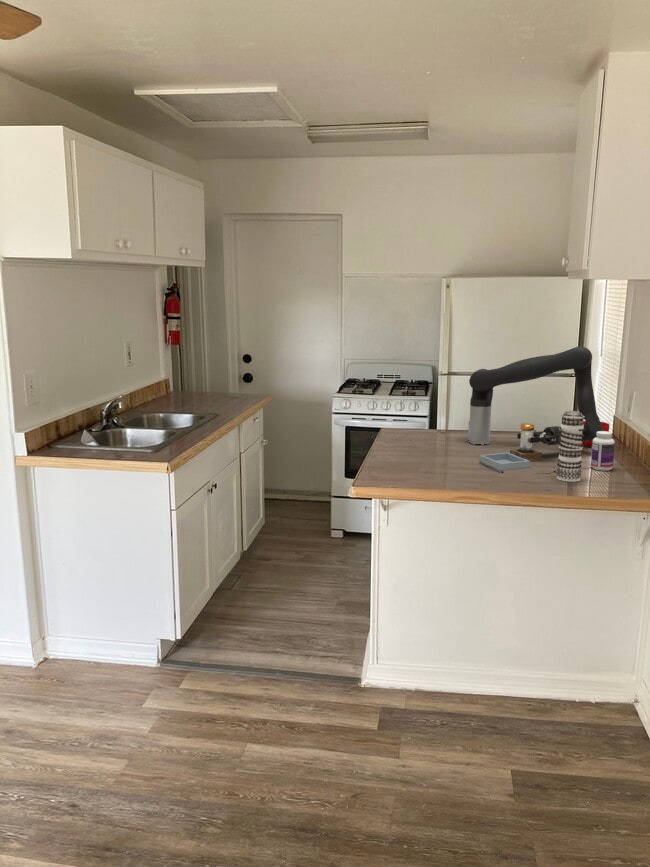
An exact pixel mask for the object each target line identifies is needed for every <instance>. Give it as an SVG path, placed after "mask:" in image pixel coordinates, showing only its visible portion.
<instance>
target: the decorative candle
mask: <svg viewBox="0 0 650 867" xmlns="http://www.w3.org/2000/svg"><path fill="white" fill-rule="evenodd" d="M584 417H585V416H583V415H582V413H581V412H579V411H577V410H566V411H565V412H564V413H563V414H561V423H560V426H561V427H559V431H560V432H559V435H560V437H559V438H558V439H559V442H558V444H557V445H558V448H559V454H558V459H557V462H558V463H557V464H556V465H557V466H558V467H557V468H556V475H557V476H556V479H557V480H560V481H563V482H572V483H574V482H579V481H581V480H582V479H581V476H582V474H581V473H582V469H581V468H582V463H583V462H582V450H583V448H584V444H583V443H582V441H584V439H583V438H582V437H584V436H585V435H584V434H582V432H584V431H585V429H584V425H583V421H585V419H584ZM560 442H561V443H560Z"/></svg>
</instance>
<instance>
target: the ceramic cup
mask: <svg viewBox="0 0 650 867" xmlns="http://www.w3.org/2000/svg"><path fill="white" fill-rule="evenodd" d="M600 422H601V424H602V427H603V431H607V432H610V423H608V422H604V421H600ZM583 424H587V423H586V421H585V420H583ZM582 444H583V446H584V447H588V448H592V441H582Z"/></svg>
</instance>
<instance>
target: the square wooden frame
mask: <svg viewBox="0 0 650 867" xmlns="http://www.w3.org/2000/svg"><path fill="white" fill-rule="evenodd" d="M509 453H510V454H513V455H515V456H518V457H521V458H523V459H526V460H528V461H530V462H536V461H537V462H538V461H542V460H543V452H541V451H538V450H535V449H533V448H532V453H521V452H520V448H515V449H509Z"/></svg>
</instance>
